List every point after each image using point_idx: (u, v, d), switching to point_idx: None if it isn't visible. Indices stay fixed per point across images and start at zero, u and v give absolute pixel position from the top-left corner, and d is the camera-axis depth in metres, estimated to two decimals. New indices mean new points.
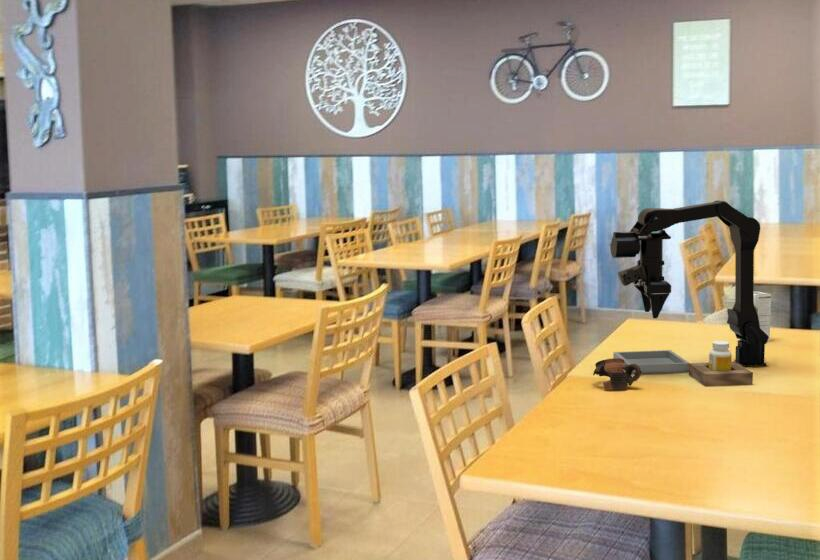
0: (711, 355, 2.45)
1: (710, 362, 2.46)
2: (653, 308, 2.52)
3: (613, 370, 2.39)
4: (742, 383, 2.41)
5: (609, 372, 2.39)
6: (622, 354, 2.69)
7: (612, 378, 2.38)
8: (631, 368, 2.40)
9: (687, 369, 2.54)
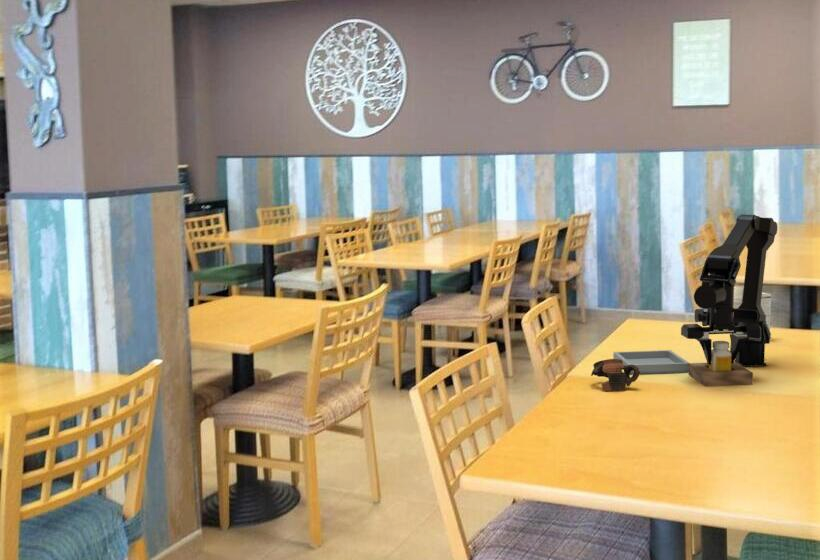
0: (711, 355, 2.45)
1: None
2: (704, 353, 2.46)
3: (611, 371, 2.38)
4: (742, 383, 2.41)
5: (607, 373, 2.38)
6: (622, 354, 2.69)
7: (610, 378, 2.38)
8: (629, 369, 2.39)
9: (687, 369, 2.54)
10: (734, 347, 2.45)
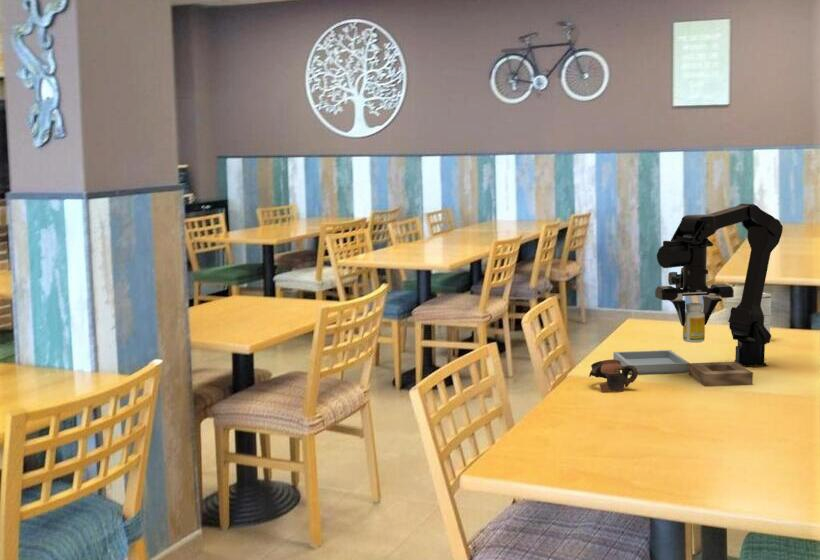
0: (685, 317, 2.49)
1: (684, 324, 2.50)
2: (678, 314, 2.51)
3: (610, 371, 2.38)
4: (742, 383, 2.41)
5: (606, 373, 2.38)
6: (622, 354, 2.69)
7: (609, 379, 2.37)
8: (627, 369, 2.39)
9: (687, 369, 2.54)
10: (707, 308, 2.49)
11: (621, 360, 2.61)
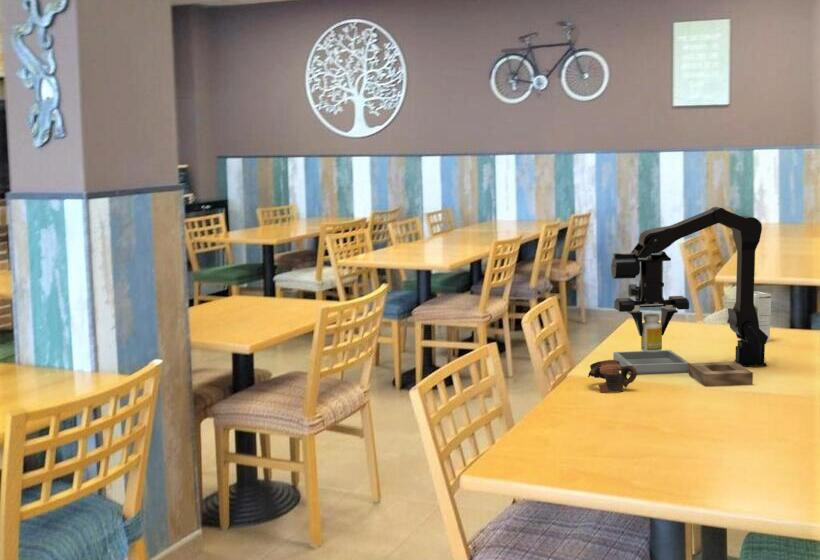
0: None
1: (642, 334, 2.60)
2: (636, 325, 2.61)
3: (609, 372, 2.37)
4: (742, 383, 2.41)
5: (605, 374, 2.37)
6: (622, 354, 2.69)
7: (608, 380, 2.37)
8: (626, 370, 2.39)
9: (687, 369, 2.54)
10: (664, 319, 2.59)
11: (621, 360, 2.61)
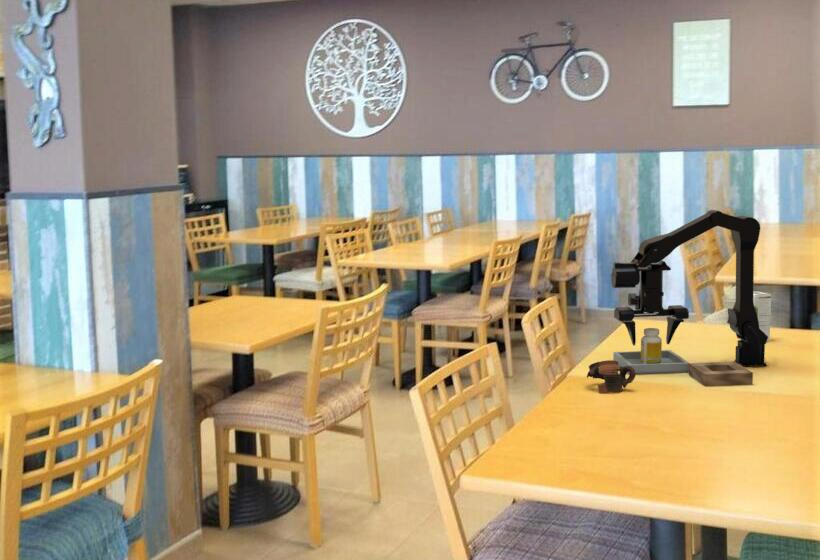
0: (642, 341, 2.60)
1: (641, 348, 2.61)
2: (629, 334, 2.61)
3: (607, 372, 2.37)
4: (742, 383, 2.41)
5: (603, 374, 2.37)
6: (622, 354, 2.69)
7: (606, 380, 2.36)
8: (625, 370, 2.38)
9: (687, 369, 2.54)
10: (670, 328, 2.60)
11: (621, 360, 2.61)
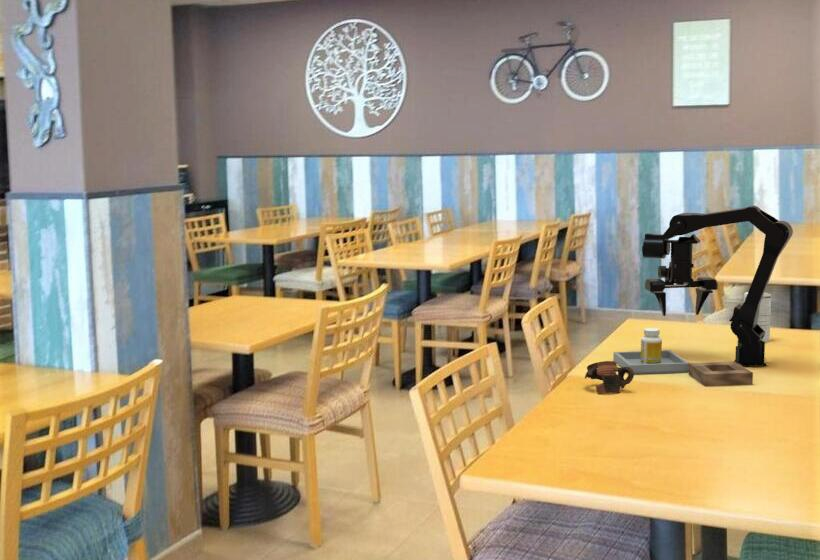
0: (642, 341, 2.60)
1: (642, 348, 2.61)
2: None
3: (606, 373, 2.36)
4: (742, 383, 2.41)
5: (602, 375, 2.36)
6: (622, 354, 2.69)
7: (605, 381, 2.36)
8: (624, 371, 2.38)
9: (687, 369, 2.54)
10: (699, 299, 2.68)
11: (621, 360, 2.61)
